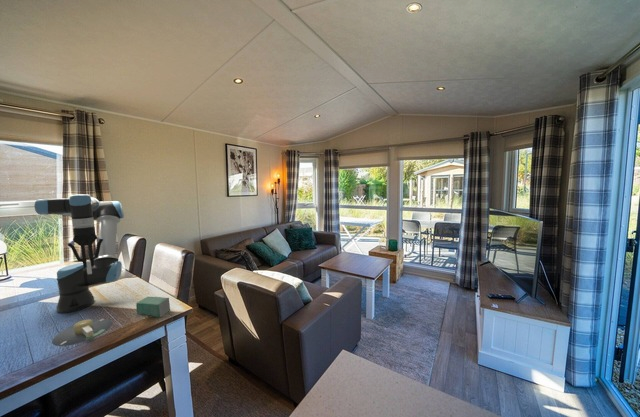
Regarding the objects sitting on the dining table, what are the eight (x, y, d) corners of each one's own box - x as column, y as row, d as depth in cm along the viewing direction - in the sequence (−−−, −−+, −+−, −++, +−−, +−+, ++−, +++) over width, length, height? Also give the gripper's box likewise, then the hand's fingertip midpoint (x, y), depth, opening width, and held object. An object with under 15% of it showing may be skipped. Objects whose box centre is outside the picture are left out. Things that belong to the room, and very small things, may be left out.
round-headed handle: (73, 332, 112) (72, 324, 112) (90, 325, 117) (89, 317, 117) (82, 342, 105) (80, 334, 104) (100, 335, 110) (99, 327, 109)
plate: (38, 347, 104) (37, 344, 104) (86, 320, 124) (85, 317, 124) (82, 349, 103) (81, 346, 102) (123, 321, 122) (123, 318, 122)
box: (148, 308, 135) (147, 295, 134) (170, 310, 133) (169, 297, 132) (136, 316, 128) (135, 302, 127) (160, 318, 126) (158, 304, 125)
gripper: (64, 229, 111) (71, 279, 114) (102, 225, 121) (108, 271, 124) (64, 227, 116) (70, 275, 119) (100, 223, 126) (105, 268, 129)
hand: (89, 273), depth 122 cm, fingers closed
